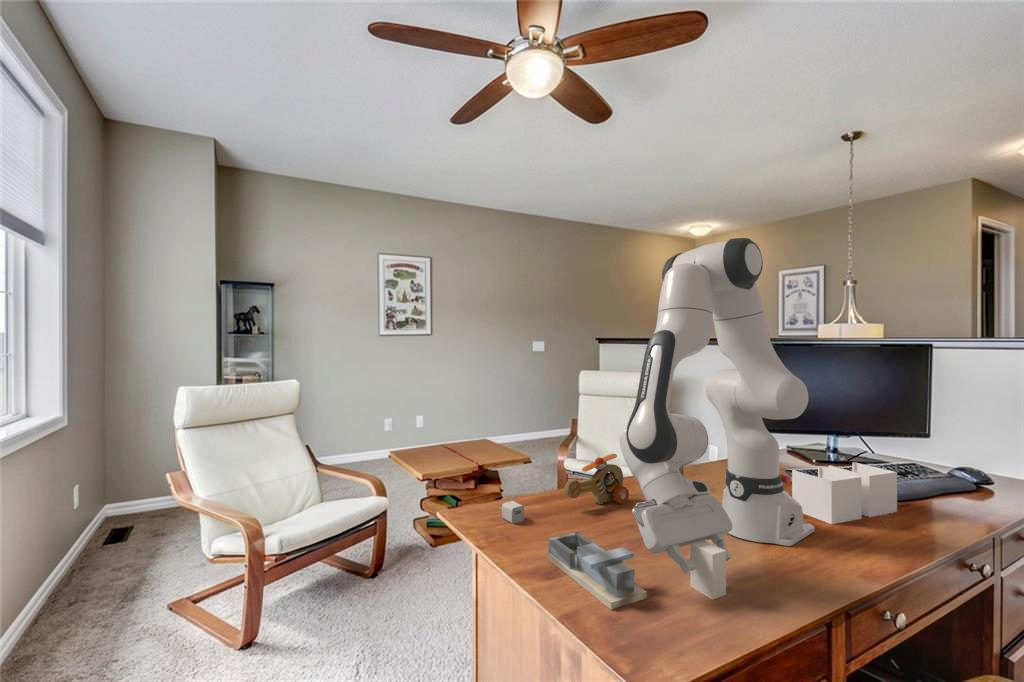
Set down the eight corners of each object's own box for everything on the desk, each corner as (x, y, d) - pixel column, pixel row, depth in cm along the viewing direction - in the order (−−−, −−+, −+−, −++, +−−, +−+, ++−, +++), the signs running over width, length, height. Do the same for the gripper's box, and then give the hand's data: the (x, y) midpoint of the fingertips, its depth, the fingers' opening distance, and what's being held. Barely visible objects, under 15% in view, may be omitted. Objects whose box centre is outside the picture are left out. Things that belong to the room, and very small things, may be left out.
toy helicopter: (632, 502, 133) (632, 454, 133) (576, 516, 121) (576, 464, 121) (611, 494, 139) (611, 448, 140) (557, 507, 128) (557, 457, 128)
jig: (582, 550, 102) (582, 522, 102) (651, 596, 83) (651, 563, 83) (543, 559, 97) (543, 530, 97) (606, 611, 79) (606, 575, 79)
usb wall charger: (511, 524, 116) (511, 508, 116) (496, 516, 122) (496, 500, 122) (524, 520, 119) (524, 505, 119) (508, 512, 124) (508, 497, 124)
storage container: (831, 524, 117) (831, 481, 117) (792, 510, 127) (792, 470, 127) (897, 512, 125) (897, 472, 125) (855, 499, 136) (855, 462, 136)
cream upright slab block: (703, 582, 88) (703, 540, 88) (726, 594, 84) (726, 550, 84) (690, 586, 87) (690, 543, 87) (712, 599, 82) (712, 554, 82)
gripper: (637, 496, 87) (676, 571, 78) (713, 482, 96) (756, 548, 87) (621, 512, 91) (657, 585, 82) (695, 497, 100) (735, 561, 91)
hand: (708, 566), depth 85 cm, fingers open, 8 cm apart
